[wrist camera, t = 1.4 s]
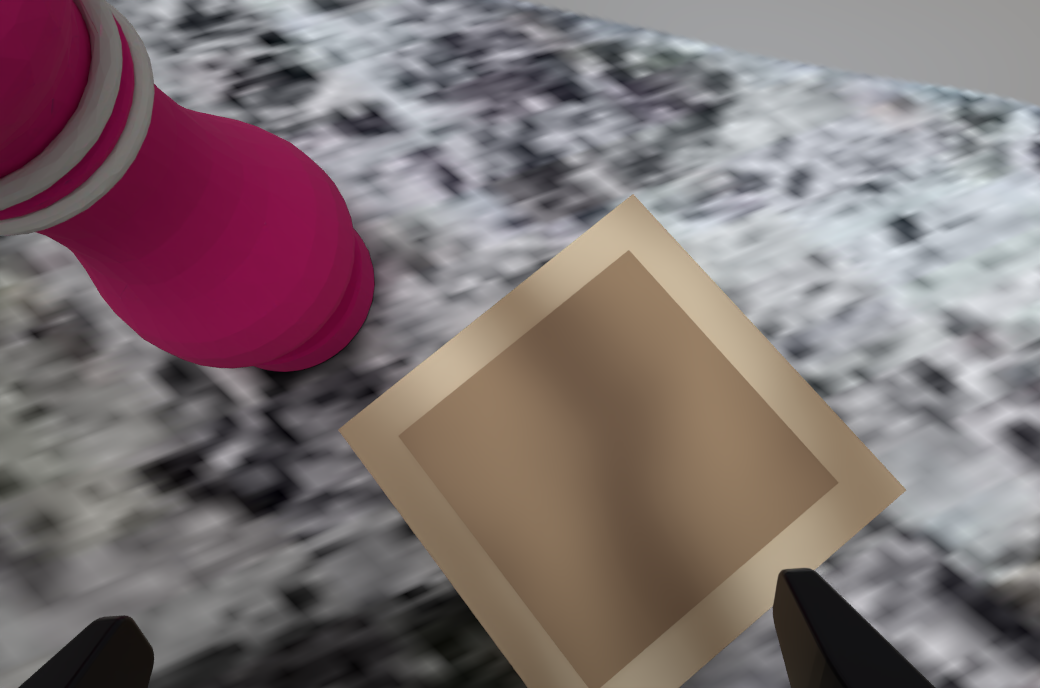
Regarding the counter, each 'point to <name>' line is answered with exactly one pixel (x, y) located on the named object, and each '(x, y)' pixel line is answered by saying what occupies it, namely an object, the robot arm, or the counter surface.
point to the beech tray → (617, 464)
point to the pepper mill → (171, 199)
